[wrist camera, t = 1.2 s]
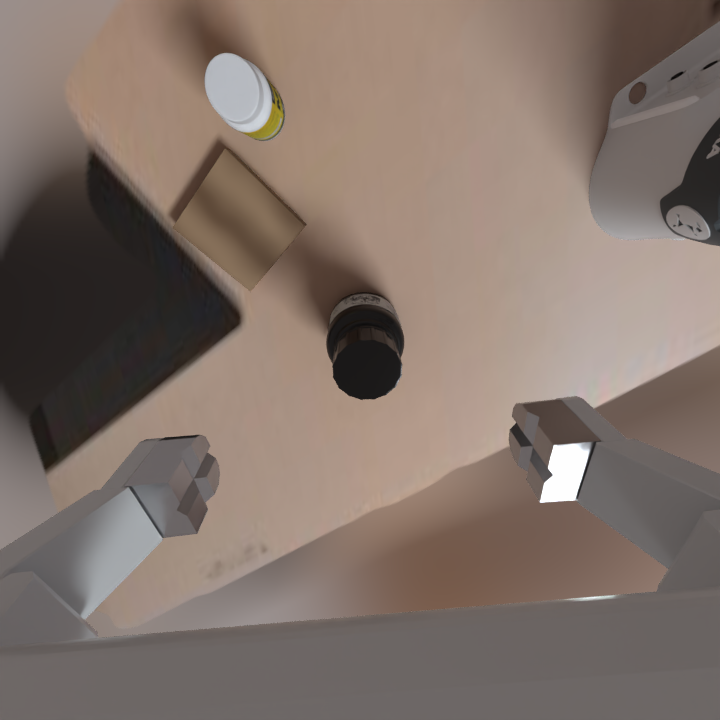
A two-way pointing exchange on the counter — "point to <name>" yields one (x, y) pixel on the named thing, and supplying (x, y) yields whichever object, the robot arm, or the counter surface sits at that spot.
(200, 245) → the tan slab
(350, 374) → the ink bottle
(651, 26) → the counter surface
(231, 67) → the supplement bottle
